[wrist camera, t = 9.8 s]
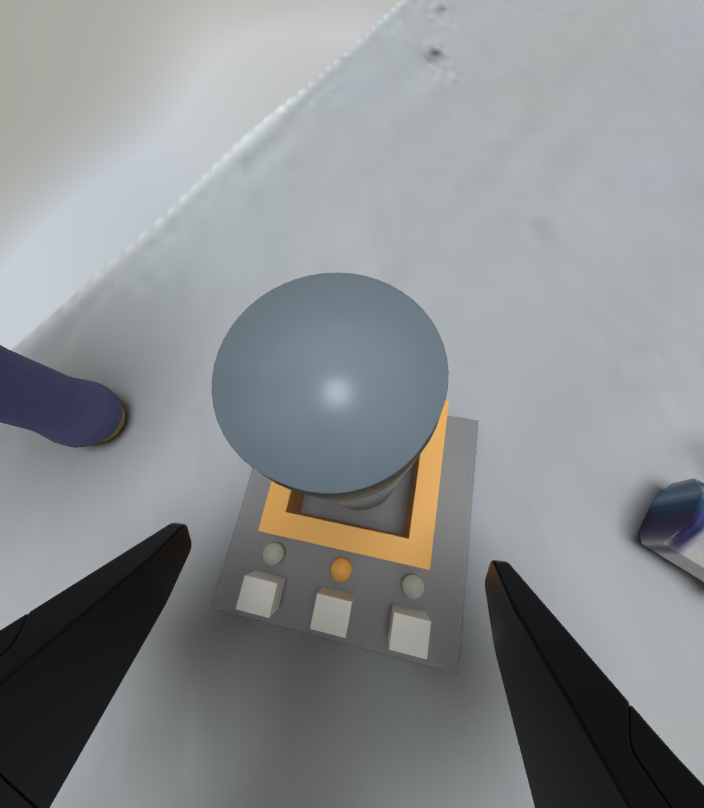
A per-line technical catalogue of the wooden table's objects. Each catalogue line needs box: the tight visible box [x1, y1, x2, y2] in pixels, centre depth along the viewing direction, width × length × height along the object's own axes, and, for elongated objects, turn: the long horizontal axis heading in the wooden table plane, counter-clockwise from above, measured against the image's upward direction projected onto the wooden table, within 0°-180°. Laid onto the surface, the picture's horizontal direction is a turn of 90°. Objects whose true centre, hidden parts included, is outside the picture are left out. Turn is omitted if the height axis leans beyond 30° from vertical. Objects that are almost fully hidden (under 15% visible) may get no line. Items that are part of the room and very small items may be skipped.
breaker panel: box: [212, 400, 478, 674], centre depth 16 cm, size 12×12×4 cm
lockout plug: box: [212, 273, 448, 510], centre depth 12 cm, size 4×4×13 cm
